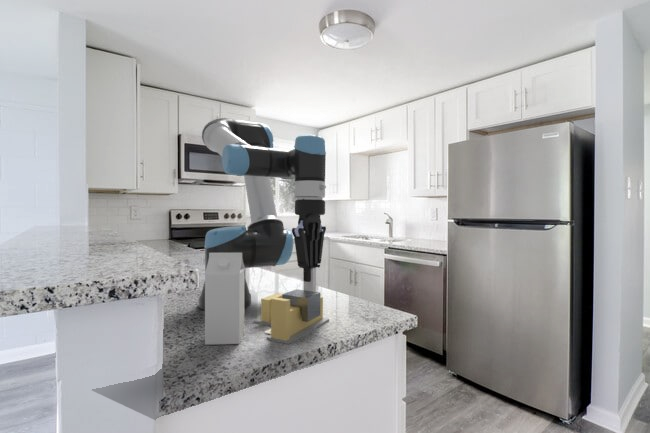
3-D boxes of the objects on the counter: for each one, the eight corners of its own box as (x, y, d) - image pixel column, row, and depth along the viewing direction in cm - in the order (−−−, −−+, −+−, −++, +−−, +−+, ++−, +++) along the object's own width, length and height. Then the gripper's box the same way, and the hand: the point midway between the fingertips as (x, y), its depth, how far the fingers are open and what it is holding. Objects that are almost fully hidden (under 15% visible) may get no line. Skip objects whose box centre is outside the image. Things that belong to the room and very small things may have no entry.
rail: (266, 339, 75) (266, 298, 75) (309, 317, 91) (309, 283, 91) (289, 344, 72) (289, 302, 72) (329, 320, 88) (329, 286, 88)
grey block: (282, 317, 81) (282, 294, 81) (296, 311, 86) (296, 289, 86) (307, 322, 78) (307, 298, 78) (320, 315, 83) (320, 292, 83)
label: (263, 332, 79) (263, 331, 79) (279, 325, 84) (279, 324, 84) (274, 335, 78) (274, 334, 78) (289, 327, 83) (289, 326, 83)
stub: (253, 322, 86) (253, 298, 86) (274, 313, 94) (275, 291, 94) (272, 326, 83) (272, 302, 83) (293, 316, 91) (293, 294, 91)
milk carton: (212, 333, 79) (213, 250, 78) (244, 332, 79) (244, 250, 79) (204, 345, 71) (204, 254, 71) (239, 344, 72) (239, 254, 72)
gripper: (309, 198, 77) (309, 302, 78) (335, 199, 89) (334, 290, 89) (282, 198, 81) (282, 297, 81) (310, 200, 92) (310, 287, 93)
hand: (309, 293), depth 85 cm, fingers closed
